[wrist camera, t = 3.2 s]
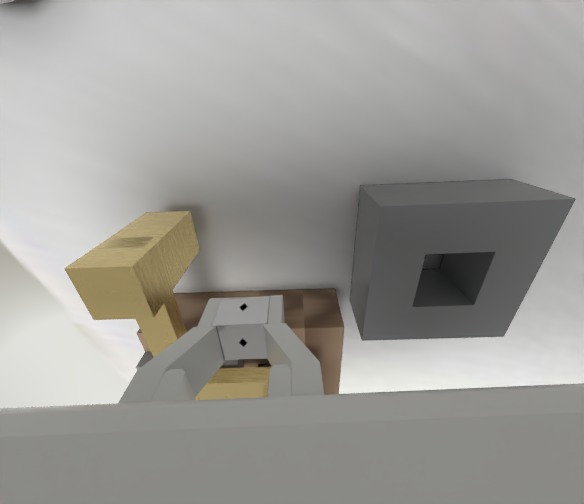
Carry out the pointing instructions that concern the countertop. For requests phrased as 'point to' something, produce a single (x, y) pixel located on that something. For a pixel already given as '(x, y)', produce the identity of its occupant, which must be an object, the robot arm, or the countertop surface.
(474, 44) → the countertop surface
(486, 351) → the countertop surface
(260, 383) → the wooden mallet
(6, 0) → the plastic bottle
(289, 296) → the socket block
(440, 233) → the grey square holed piece
